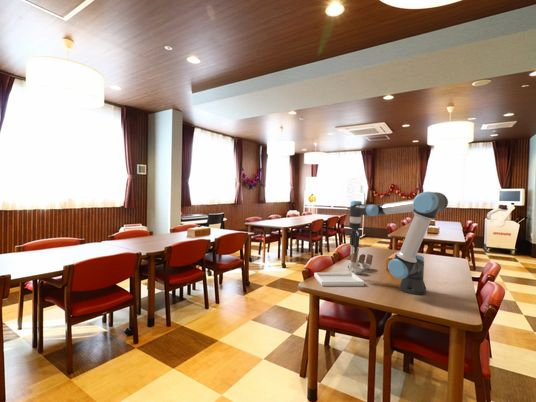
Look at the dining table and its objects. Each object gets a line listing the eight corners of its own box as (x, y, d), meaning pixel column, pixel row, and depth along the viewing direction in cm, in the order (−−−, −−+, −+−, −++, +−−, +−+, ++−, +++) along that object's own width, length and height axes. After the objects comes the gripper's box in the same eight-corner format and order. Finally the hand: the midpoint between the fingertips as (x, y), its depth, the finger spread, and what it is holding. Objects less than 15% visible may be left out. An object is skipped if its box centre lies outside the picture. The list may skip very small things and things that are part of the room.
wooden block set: (371, 267, 188) (374, 253, 191) (368, 264, 182) (371, 250, 184) (346, 261, 199) (349, 248, 202) (342, 259, 193) (345, 245, 195)
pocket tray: (364, 286, 179) (364, 281, 179) (321, 286, 177) (321, 281, 177) (352, 276, 200) (352, 272, 199) (314, 276, 198) (314, 272, 198)
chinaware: (362, 278, 201) (365, 257, 199) (340, 272, 210) (343, 251, 209) (372, 270, 224) (375, 251, 222) (352, 265, 233) (354, 246, 232)
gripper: (346, 221, 200) (344, 252, 201) (354, 223, 183) (352, 258, 184) (356, 221, 200) (354, 252, 201) (365, 224, 183) (363, 258, 184)
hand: (353, 255), depth 193 cm, fingers closed on wooden block set, 4 cm apart
